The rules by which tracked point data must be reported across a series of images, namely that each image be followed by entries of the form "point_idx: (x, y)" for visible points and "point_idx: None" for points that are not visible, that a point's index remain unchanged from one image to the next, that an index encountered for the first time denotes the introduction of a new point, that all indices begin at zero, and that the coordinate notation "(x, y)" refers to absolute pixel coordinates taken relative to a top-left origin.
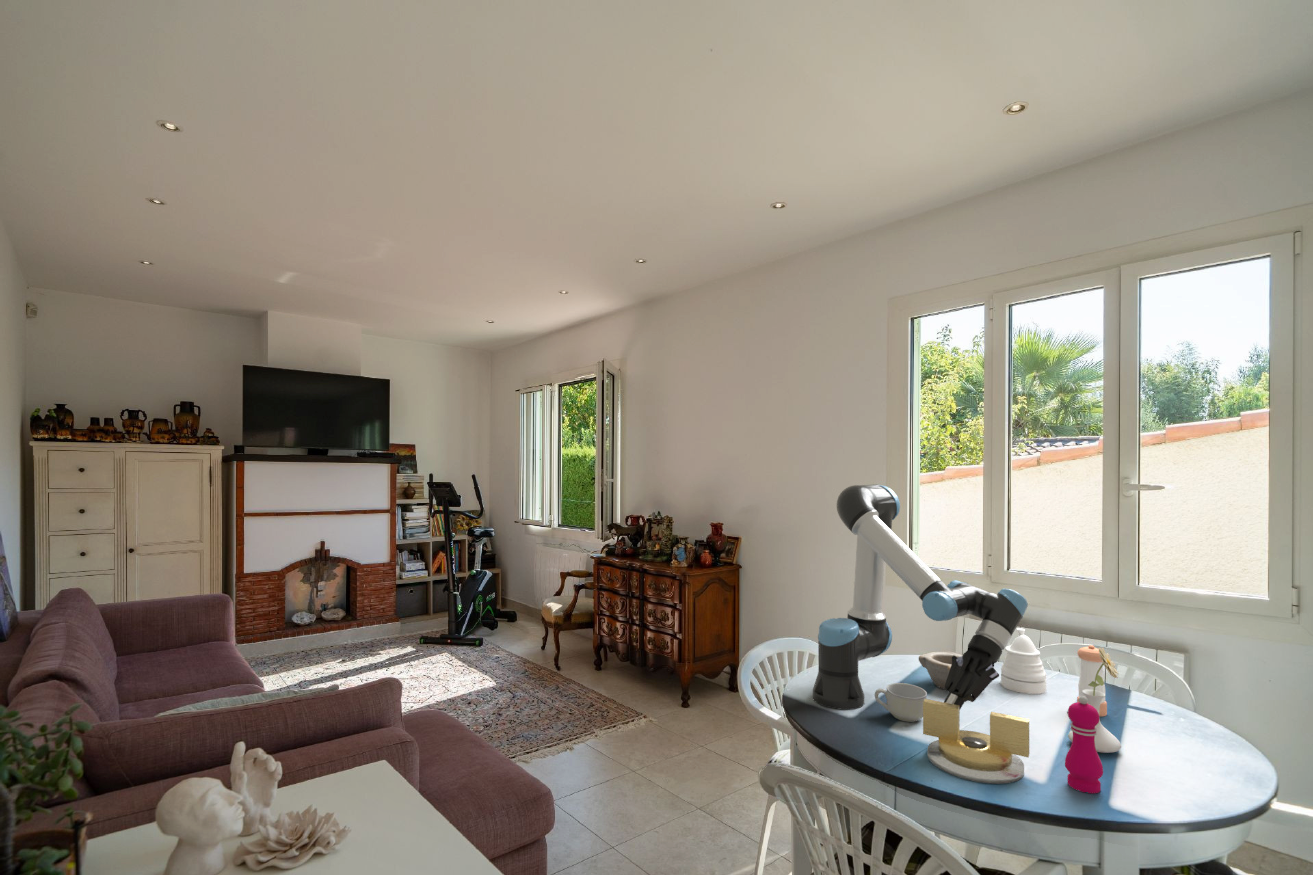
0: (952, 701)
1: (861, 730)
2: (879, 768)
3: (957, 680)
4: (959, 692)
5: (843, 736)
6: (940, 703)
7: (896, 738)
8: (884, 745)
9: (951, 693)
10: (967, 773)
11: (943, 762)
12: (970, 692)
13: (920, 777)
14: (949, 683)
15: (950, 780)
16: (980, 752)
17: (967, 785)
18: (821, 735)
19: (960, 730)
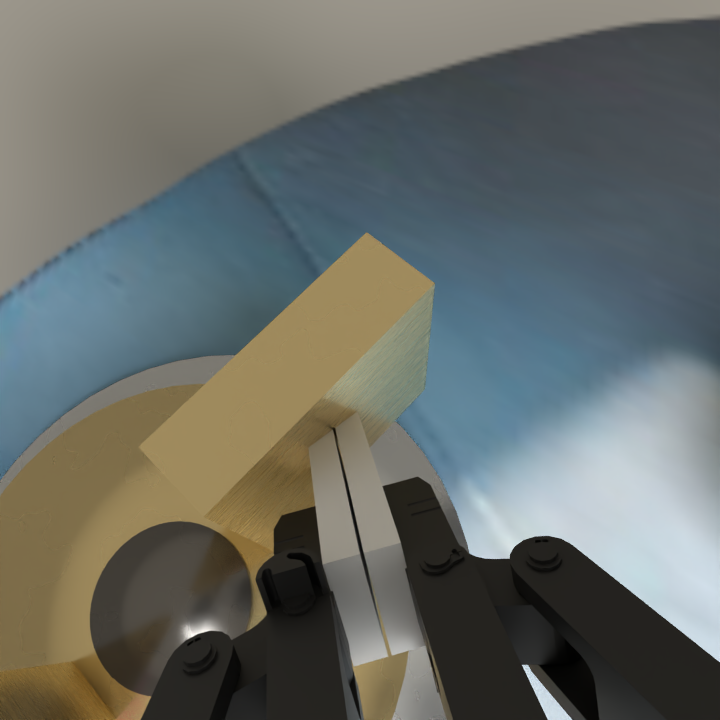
0: (319, 509)
1: (677, 217)
2: (264, 138)
3: (492, 713)
4: (316, 610)
5: (597, 119)
6: (293, 355)
7: (569, 342)
8: (483, 247)
9: (396, 543)
10: (48, 428)
11: (182, 378)
12: (161, 701)
13: (150, 249)
14: (550, 602)
15: (87, 356)
16: (53, 551)
17: (23, 403)
18: (608, 44)
19: (402, 655)
